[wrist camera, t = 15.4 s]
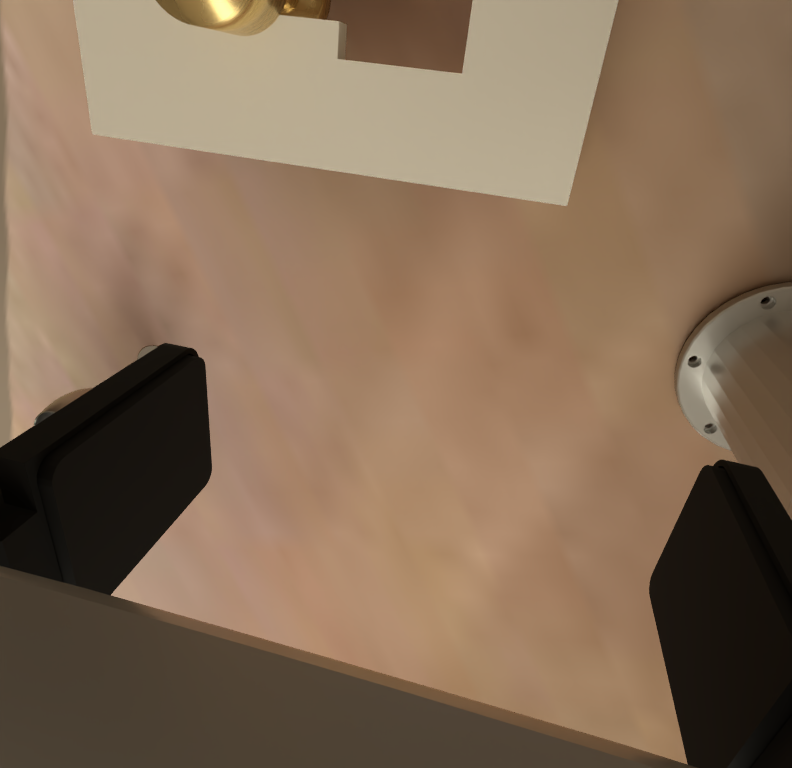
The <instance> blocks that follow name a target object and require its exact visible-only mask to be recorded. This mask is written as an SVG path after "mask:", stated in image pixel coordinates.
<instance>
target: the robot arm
mask: <svg viewBox="0 0 792 768" xmlns="http://www.w3.org/2000/svg"><path fill="white" fill-rule="evenodd" d="M765 297H767V300H766V301H764V302H761V301H762V299H763V298H765ZM692 356H695V358H694V359H689V358H690V357H692ZM675 391H676V395H677V399H678V403H679V405H680V407H681V409H682V411H683V414H684V415H685V417H686V418H687V420H688V421H689V423H690V424H691V426H692V427H693V428H694V429H695V430H696V431H697V432H698V433H699V434H700V435H702V436H703V437H704V438H706V439H707V440H709V441H711V442H712V443H714V444H716V445H717V446H720V447H722V448H725V449H728V450H730V451H732V452H733V454H734V456H735V458H736V459H737V461H738V463H735V462H731V461H726V460H719V461H717V462H716V463H715V464H714V466H709V465H706V466H704V467H703V468H702V470H701V471H700V473H699V475H698V477H697V480H696V482H695V484H694V486H693V488H692V490H691V492H690V495H689V497H688V499H687V501H686V503H685V505H684V507H683V509H682V512H681V514H680V516H679V518H678V520H677V522H676V524H675V526H674V529H673V531H672V533H671V535H670V537H669V539H668V541H667V544H666V546H665V548H664V550H663V552H662V554H661V556H660V558H659V561H658V563H657V565H656V567H655V569H654V571H653V573H652V576H651V580H650V586H649V594H650V599H651V604H652V608H653V613H654V617H655V621H656V626H657V630H658V635H659V639H660V644H661V648H662V652H663V657H664V661H665V666H666V670H667V674H668V679H669V683H670V688H671V692H672V697H673V701H674V705H675V710H676V714H677V719H678V723H679V727H680V732H681V736H682V741H683V745H684V749H685V754H686V758H687V763H688V765H687V764H684V763H681V762H678V761H674V760H671V759H668V758H665V757H662V756H658V755H655V754H652V753H649V752H646V751H642V750H639V749H636V748H633V747H630V746H626V745H623V744H620V743H616V742H613V741H610V740H606V739H603V738H600V737H596V736H593V735H589V734H586V733H583V732H579V731H576V730H572V729H569V728H566V727H562V726H559V725H556V724H552V723H549V722H545V721H542V720H539V719H535V718H532V717H529V716H525V715H522V714H518V713H515V712H512V711H508V710H505V709H502V708H498V707H495V706H491V705H488V704H485V703H481V702H478V701H475V700H471V699H468V698H464V697H461V696H458V695H454V694H451V693H447V692H444V691H441V690H437V689H434V688H430V687H427V686H424V685H420V684H417V683H413V682H410V681H406V680H403V679H400V678H396V677H393V676H389V675H386V674H382V673H379V672H375V671H372V670H369V669H365V668H362V667H358V666H355V665H351V664H348V663H345V662H341V661H338V660H334V659H331V658H327V657H324V656H320V655H317V654H313V653H310V652H307V651H303V650H300V649H296V648H293V647H289V646H286V645H282V644H279V643H275V642H272V641H268V640H265V639H262V638H258V637H255V636H251V635H248V634H244V633H241V632H237V631H234V630H230V629H227V628H223V627H220V626H216V625H213V624H209V623H206V622H202V621H199V620H195V619H192V618H188V617H185V616H181V615H177V614H174V613H170V612H167V611H163V610H160V609H156V608H153V607H149V606H146V605H142V604H139V603H135V602H132V601H128V600H125V599H121V598H118V597H114V596H111V594H112V593H113V591H114V590H115V589H116V588H117V587H118V586H119V585H120V583H121V582H122V581H123V580H124V579H125V578H126V577H127V575H128V574H129V573H130V572H131V571H132V570H133V568H134V567H135V566H136V565H137V564H138V563H139V562H140V560H141V559H142V558H143V557H144V556H145V555H146V554H147V552H148V551H149V550H150V549H151V548H152V547H153V545H154V544H155V543H156V542H157V541H158V540H159V539H160V537H161V536H162V535H163V534H164V533H165V532H166V531H167V529H168V528H169V527H170V526H171V525H172V524H173V522H174V521H175V520H176V519H177V518H178V517H179V516H180V514H181V513H182V512H183V511H184V510H185V509H186V508H187V506H188V505H189V504H190V503H191V502H192V501H193V499H194V498H195V497H196V496H197V495H198V494H199V493H200V491H201V490H202V489H203V488H204V487H205V486H206V484H207V483H208V481H209V479H210V476H211V471H212V461H211V446H210V430H209V415H208V399H207V384H206V369H205V362H204V360H203V359H202V358H200V357H198V354H197V352H196V351H195V350H194V349H192V348H187V347H183V346H178V345H173V344H168V343H164V344H162V345H160V346H158V347H157V348H155V349H154V350H152V351H150V352H149V353H147V354H146V355H144V356H143V357H141V358H139V359H138V360H136V361H135V362H133V363H132V364H130V365H129V366H127V367H125V368H124V369H122V370H121V371H119V372H118V373H116V374H114V375H113V376H111V377H110V378H108V379H107V380H105V381H104V382H102V383H100V384H99V385H97V386H96V387H94V388H93V389H91V390H90V391H88V392H86V393H85V394H83V395H82V396H80V397H79V398H77V399H75V400H74V401H72V402H71V403H69V404H68V405H66V406H65V407H63V408H61V409H60V410H58V411H57V412H55V413H54V414H52V415H50V416H49V417H47V418H46V419H44V420H43V421H41V422H40V423H38V424H36V425H35V426H33V427H32V428H30V429H29V430H27V431H26V432H24V433H22V434H21V435H19V436H18V437H16V438H15V439H13V440H11V441H10V442H8V443H7V444H5V445H4V446H2V447H1V448H0V768H792V282H786V283H780V284H774V285H768V286H764V287H761V288H758V289H755V290H752V291H749V292H746V293H744V294H742V295H740V296H738V297H736V298H734V299H732V300H730V301H728V302H726V303H725V304H723V305H722V306H720V307H719V308H718V309H716V310H715V311H713V312H712V313H711V314H709V315H708V316H707V317H706V318H705V319H704V320H703V321H702V322H701V323H700V324H699V325H698V326H697V327H696V328H695V329H694V331H693V332H692V334H691V335H690V336H689V338H688V339H687V341H686V342H685V344H684V346H683V348H682V350H681V353H680V355H679V357H678V361H677V365H676V370H675ZM709 423H710V424H709ZM707 424H708V425H707Z"/></svg>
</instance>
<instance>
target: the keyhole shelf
mask: <svg viewBox="0 0 792 768" xmlns="http://www.w3.org/2000/svg"><path fill="white" fill-rule="evenodd" d="M73 4H74V11H75V18H76V25H77V32H78V39H79V46H80V53H81V60H82V67H83V74H84V81H85V88H86V95H87V102H88V109H89V116H90V123H91V130H92V134H93V135H99V136H106V137H113V138H119V139H126V140H132V141H139V142H146V143H152V144H159V145H166V146H172V147H179V148H186V149H192V150H199V151H205V152H212V153H219V154H225V155H232V156H239V157H245V158H252V159H258V160H265V161H272V162H278V163H285V164H292V165H298V166H305V167H312V168H318V169H325V170H331V171H338V172H345V173H351V174H358V175H365V176H371V177H378V178H385V179H391V180H398V181H404V182H411V183H418V184H424V185H431V186H438V187H444V188H451V189H458V190H464V191H471V192H477V193H484V194H491V195H497V196H504V197H511V198H517V199H524V200H530V201H537V202H544V203H550V204H557V205H564V206H567V204H568V200H569V196H570V192H571V188H572V184H573V180H574V176H575V172H576V168H577V164H578V160H579V156H580V152H581V148H582V144H583V140H584V136H585V132H586V128H587V124H588V120H589V116H590V112H591V108H592V104H593V100H594V96H595V92H596V88H597V84H598V80H599V76H600V72H601V68H602V64H603V60H604V56H605V52H606V48H607V44H608V40H609V36H610V32H611V28H612V24H613V20H614V16H615V12H616V8H617V4H618V0H473V2H472V9H471V16H470V23H469V30H468V37H467V44H466V50H465V57H464V64H463V71H462V74H460V73H452V72H443V71H435V70H426V69H418V68H410V67H401V66H393V65H384V64H376V63H368V62H359V61H351V60H345V53H346V35H347V24H344V23H342V22H340V21H332V20H322V19H313V18H304V17H295V16H285V15H279V17H278V18H277V19H276V21H275V22H274V23H273V24H272V25H271V26H270V27H269V28H267V29H266V30H264V31H262V32H261V33H258V34H255V35H251V36H239V35H234V34H229V33H225V32H220V31H216V30H211V29H207V28H203V27H198V26H194V25H189V24H186V23H183V22H181V21H179V20H177V19H175V18H174V17H172V16H171V15H170V14H168V13H167V12H166V11H165V10H164V9H163V8H162V7H161V6H160V5H159V4H158V3H157V1H156V0H73Z"/></svg>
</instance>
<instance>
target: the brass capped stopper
mask: <svg viewBox="0 0 792 768" xmlns="http://www.w3.org/2000/svg"><path fill="white" fill-rule="evenodd" d="M156 1H157V3H158V4H159V5H160V6H161V7H162V8H163V9H164V10H165V11H166V12H167V13H168V14H170V15H171V16H172V17H174V18H175V19H177V20H179V21H181V22H183V23H186V24H189V25H194V26H198V27H203V28H207V29H211V30H216V31H220V32H225V33H229V34H234V35H239V36H251V35H255V34H258V33H261V32H262V31H264V30H266V29H267V28H269V27H270V26H271V25H272V24H273V23H274V22H275V21H276V19H277V18H278V17H279V15H285V16H295V17H304V18H313V19H322V20H326V19H327V16H328V13H329V9H330V2H331V0H156Z"/></svg>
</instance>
